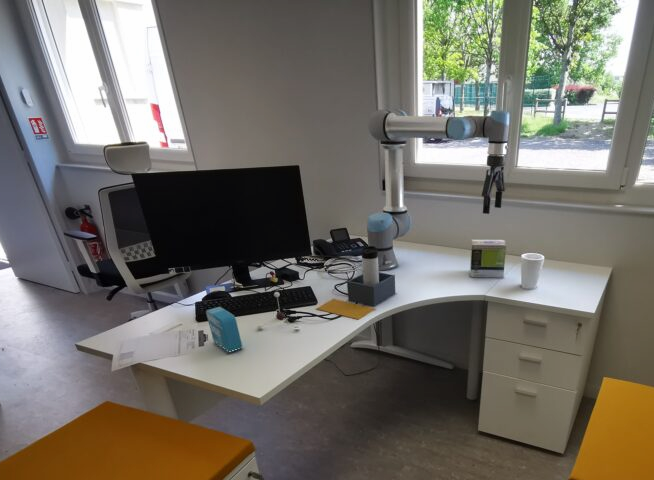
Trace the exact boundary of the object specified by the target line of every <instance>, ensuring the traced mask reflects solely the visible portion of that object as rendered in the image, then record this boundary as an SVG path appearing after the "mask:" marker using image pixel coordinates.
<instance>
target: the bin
mask: <svg viewBox="0 0 654 480" xmlns="http://www.w3.org/2000/svg"><path fill="white" fill-rule="evenodd" d="M346 288H347V289H346V290H347V299H348V301H347V302H351V303H356V304H360V305H364V306H369V307H373V308H375V307H376V306H378V305H379V304H382V303H383V302H384V301H386V300H388V299H389V298H391V297H393V296H394V295H396V275H395V274H391V273H386V272H381V271H379V283H378V284H376V285H374V286H370V285H365V284H364V283H363V273H361V274H359V275H356V276H354V277H353V278H350V279H349V280H347V281H346Z"/></svg>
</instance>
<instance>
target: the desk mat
mask: <svg viewBox="0 0 654 480" xmlns="http://www.w3.org/2000/svg"><path fill="white" fill-rule="evenodd" d="M315 310H317V311H322V312H326V313H329V314H333V315H337V316H340V317H341V316H342V317H345V318H349V319H353V320H358V321H359V320H360V319H362V318H363V317H365V316H366V315H369V314H370V313H372V312H373V311H375V310H376V308H375V307H371V306H367V305H363V304H358V303H354V302H350V301H344V300H339V299H336V298H333V299H330V300H329V301H327V302H325V303H323V304H322V305H320V306H318V307H316V308H315Z"/></svg>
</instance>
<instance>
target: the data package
mask: <svg viewBox="0 0 654 480" xmlns="http://www.w3.org/2000/svg"><path fill="white" fill-rule="evenodd" d="M205 314H206V318H207V322H208V325H209V330H210V334H211V337H212V341H213V342H214V344H216V346H218V347H220V349H222V350H223V351H225V352H226V353H227V354H231V353H235V352H237V351H241V350H242V349H243V343H242V339H241V334H240V331H239V326H238V321H237V317H236V316H235V315H234V314H232V313H231V312H230V311H228V310H227V309H224V308H223V307H221V306H217V307H213V308H210V309H206V310H205ZM216 342H217V343H216ZM220 345H221V346H220ZM223 347H224V348H225V349H224V348H223ZM241 347H242V348H241ZM238 348H240V349H238ZM235 349H237V350H235ZM227 350H228V351H227ZM232 350H234V351H232ZM229 351H231V352H229Z"/></svg>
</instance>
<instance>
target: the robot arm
mask: <svg viewBox="0 0 654 480" xmlns="http://www.w3.org/2000/svg"><path fill="white" fill-rule="evenodd" d="M510 116H511V115H510V112H509V110H504V109H503V110H502V109H501V110H500V109H499V110H497V109H495V110H491V111H490V113H489V115H487V116H486V115H485V116H484V115H463V116H431V115H430V116H427V115H425V116H424V115H421V116H420V115H408V114H407V113H406V112H405V111H403V110H402V109H398V108H388V109H386V108H385V109H377V110H375V111H373V112H372V113H371V115H370V116H369V119H368V121H367V127H368V132H369V133H370V136H371V137H372V138H373V139H375V140H377V141H379V142H380V143H379V144H380V146H381V147H382V148H383V156H384V157H383V158H384V182H385V183H384V185H385V186H384V187H385V189H384V190H385V206H384V207H382V212H378V213H373V214H370V215H369V216H368V217H367V219H366V229H367V232H366V233H367V245H368V246H367V247H370V246H375V247H376V248H377V251H378V254H377V255H378V269H379V272H381V271H389V270H393V269H396V268H397V267H398V259H397V256H396V254H395V252H394V240H396V239H398V238H401V237H404V236H406V234H407V233H409V231H410V230H411V227H412V217H411V216H410V214H409V212H408V207H407V206H406V205H405V189H404V187H405V185H404V184H405V183H404V181H405V179H404V177H405V176H404V148H405V147H406V146H407V138H411V139H413V138H414V139H436V140H453V141H464V140H469V139H474V138H480V139H481V138H482V139H488V140H487V141H488V142H487V151H486V152H487V153H486V154H487V156H486V166H487V167H489V169H486V173H485V178H484V183H483V187H482V190H481V197H482V198H483V205H482V214H486V215H489V214H490V213H491V211H490V210H491V198H492V197H491V194H492V191H493V188H494V185H495V188H496V191H495V197H494V208H496V209H502V201H503V192H505V191H506V189H505V188H506V183H505V182H506V181H505V166H506V161H507V156H506V155H507V149H509V146H508V138H509V130H510ZM309 257H310V258H329V259H330V258H331V259H340V260H345V261H350V262H353V263H362V259H361V260H355V259H351V258H347V257H341V256H334V255H311V256H309Z"/></svg>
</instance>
